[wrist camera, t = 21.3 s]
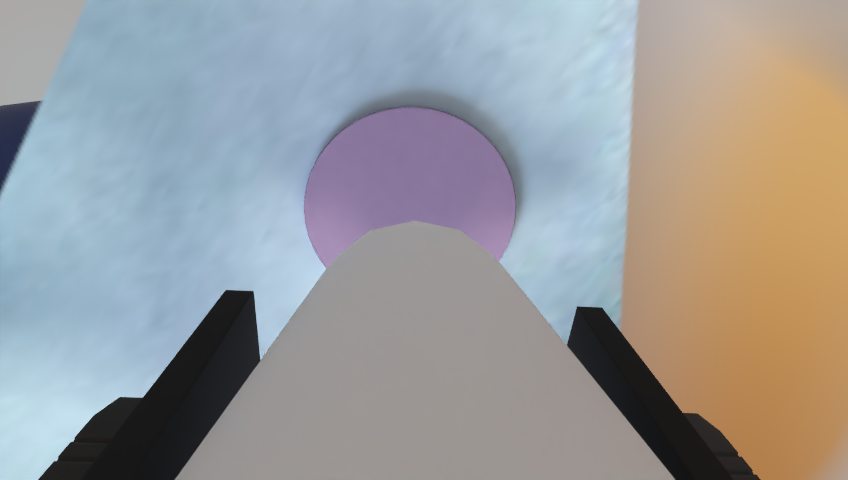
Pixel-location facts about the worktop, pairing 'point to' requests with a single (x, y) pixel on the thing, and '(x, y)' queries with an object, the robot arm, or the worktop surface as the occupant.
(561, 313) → the worktop surface
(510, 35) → the worktop surface
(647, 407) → the robot arm
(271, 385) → the foam cup
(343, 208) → the lilac coaster
